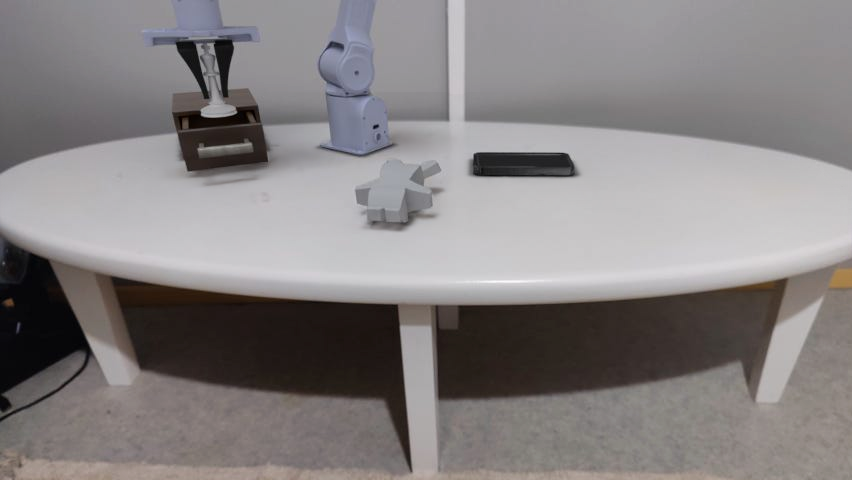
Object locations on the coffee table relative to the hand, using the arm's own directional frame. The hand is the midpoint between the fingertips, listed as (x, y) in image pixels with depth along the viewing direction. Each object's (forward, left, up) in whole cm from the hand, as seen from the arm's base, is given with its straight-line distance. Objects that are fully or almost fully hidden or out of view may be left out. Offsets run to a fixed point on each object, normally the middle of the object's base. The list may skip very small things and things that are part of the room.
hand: (216, 97), depth 81 cm
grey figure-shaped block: (-32, -1, -10) cm, 34 cm away
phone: (-38, -23, -10) cm, 46 cm away
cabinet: (+12, -7, -10) cm, 17 cm away
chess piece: (0, 0, -3) cm, 3 cm away
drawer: (+1, 0, -9) cm, 9 cm away
